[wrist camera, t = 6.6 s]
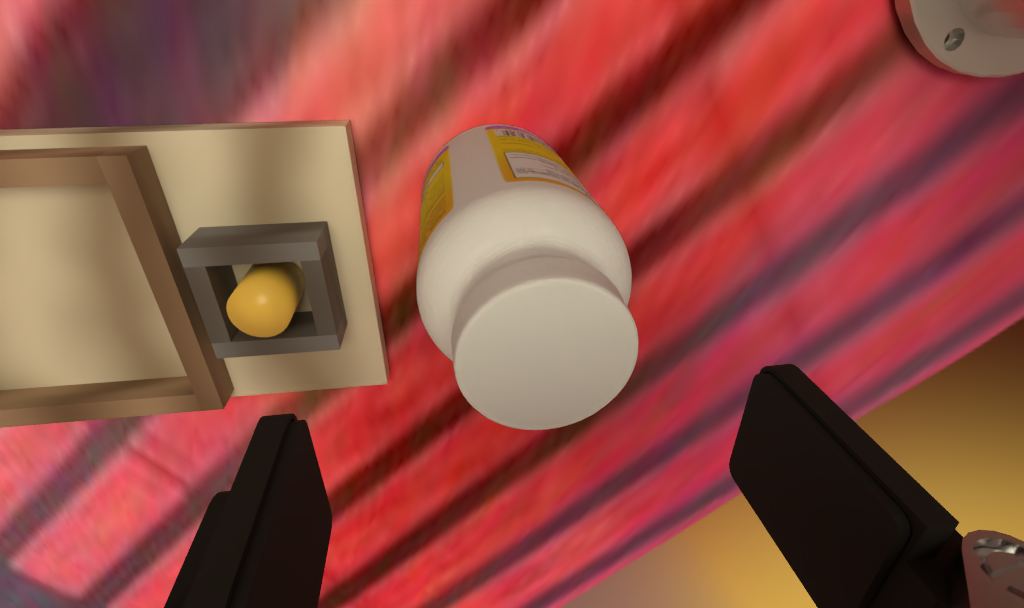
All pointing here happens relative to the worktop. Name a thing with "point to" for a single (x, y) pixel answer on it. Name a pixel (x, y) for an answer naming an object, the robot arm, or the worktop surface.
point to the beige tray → (177, 267)
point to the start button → (266, 298)
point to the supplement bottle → (523, 281)
